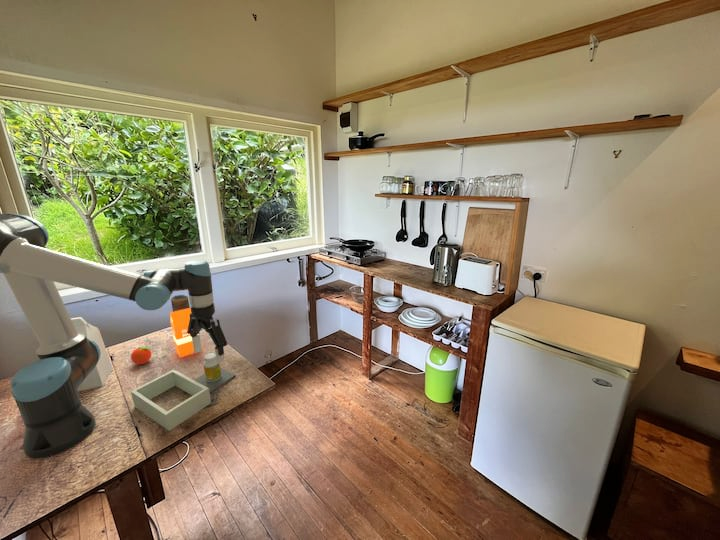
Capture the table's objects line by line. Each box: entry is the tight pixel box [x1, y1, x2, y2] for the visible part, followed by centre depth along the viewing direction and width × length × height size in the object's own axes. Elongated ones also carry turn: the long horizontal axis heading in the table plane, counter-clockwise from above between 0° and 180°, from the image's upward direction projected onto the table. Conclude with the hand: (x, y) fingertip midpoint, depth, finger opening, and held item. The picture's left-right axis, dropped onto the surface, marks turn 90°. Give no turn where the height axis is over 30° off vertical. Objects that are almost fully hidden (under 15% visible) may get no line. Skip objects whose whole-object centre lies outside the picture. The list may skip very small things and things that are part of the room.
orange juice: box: [169, 307, 200, 358], centre depth 131 cm, size 8×9×20 cm
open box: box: [130, 369, 212, 432], centre depth 100 cm, size 14×21×6 cm, turn 60°
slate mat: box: [193, 367, 236, 393], centre depth 114 cm, size 11×11×1 cm
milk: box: [70, 316, 114, 392], centre depth 110 cm, size 12×12×26 cm
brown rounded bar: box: [170, 294, 191, 312], centre depth 146 cm, size 8×7×20 cm
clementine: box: [130, 346, 152, 365], centre depth 124 cm, size 8×7×7 cm
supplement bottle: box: [202, 352, 221, 382], centre depth 113 cm, size 5×5×10 cm
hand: (209, 356), depth 111 cm, fingers open, 13 cm apart
